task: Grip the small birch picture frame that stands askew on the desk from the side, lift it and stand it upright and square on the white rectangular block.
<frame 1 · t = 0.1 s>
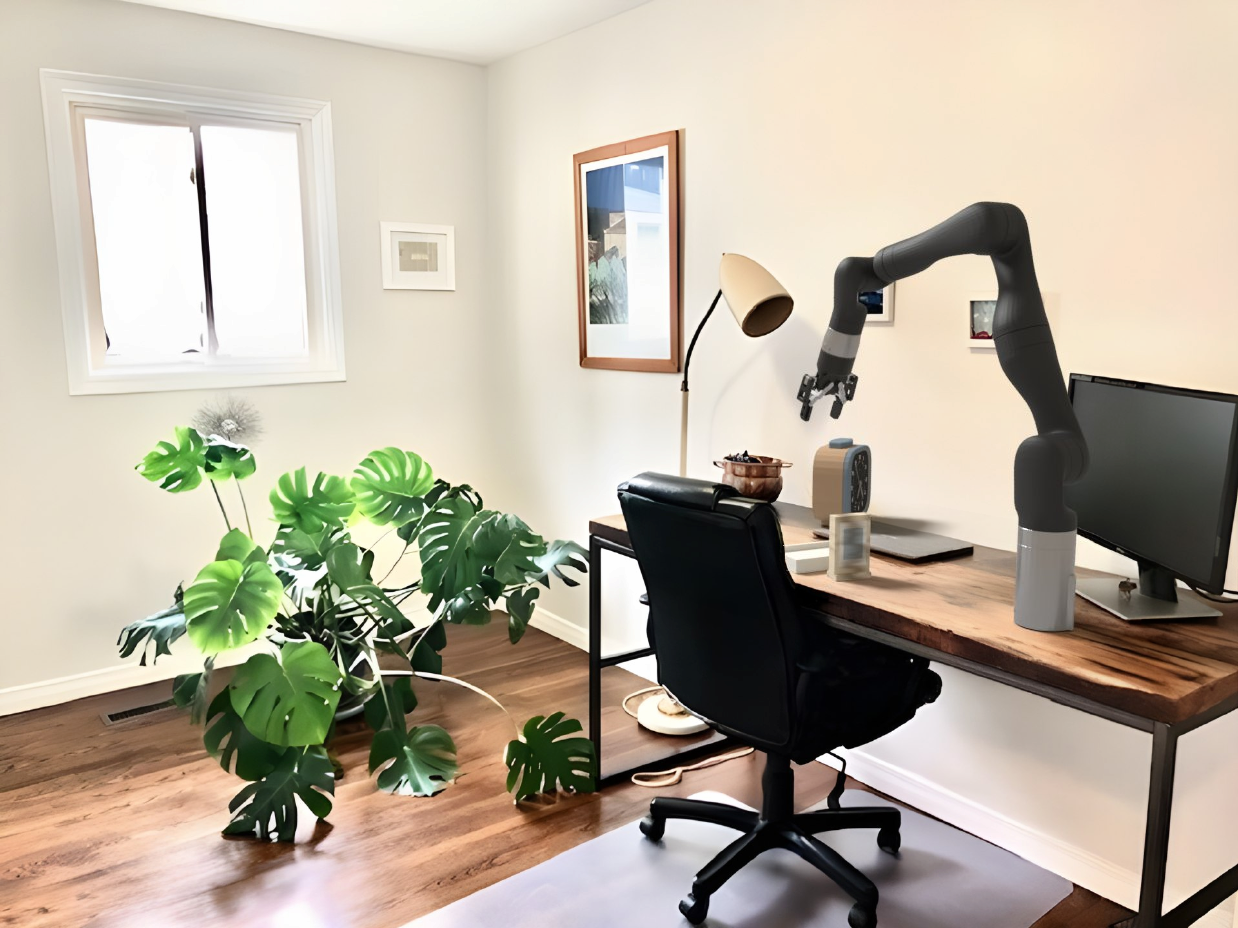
hand: (819, 418, 210), 31 cm above the table, tool tilted 20°, fingers open, 8 cm apart
white rectangular block: (814, 565, 208), on the table
frame: (848, 577, 198), on the table
alarm clock: (842, 522, 251), on the table
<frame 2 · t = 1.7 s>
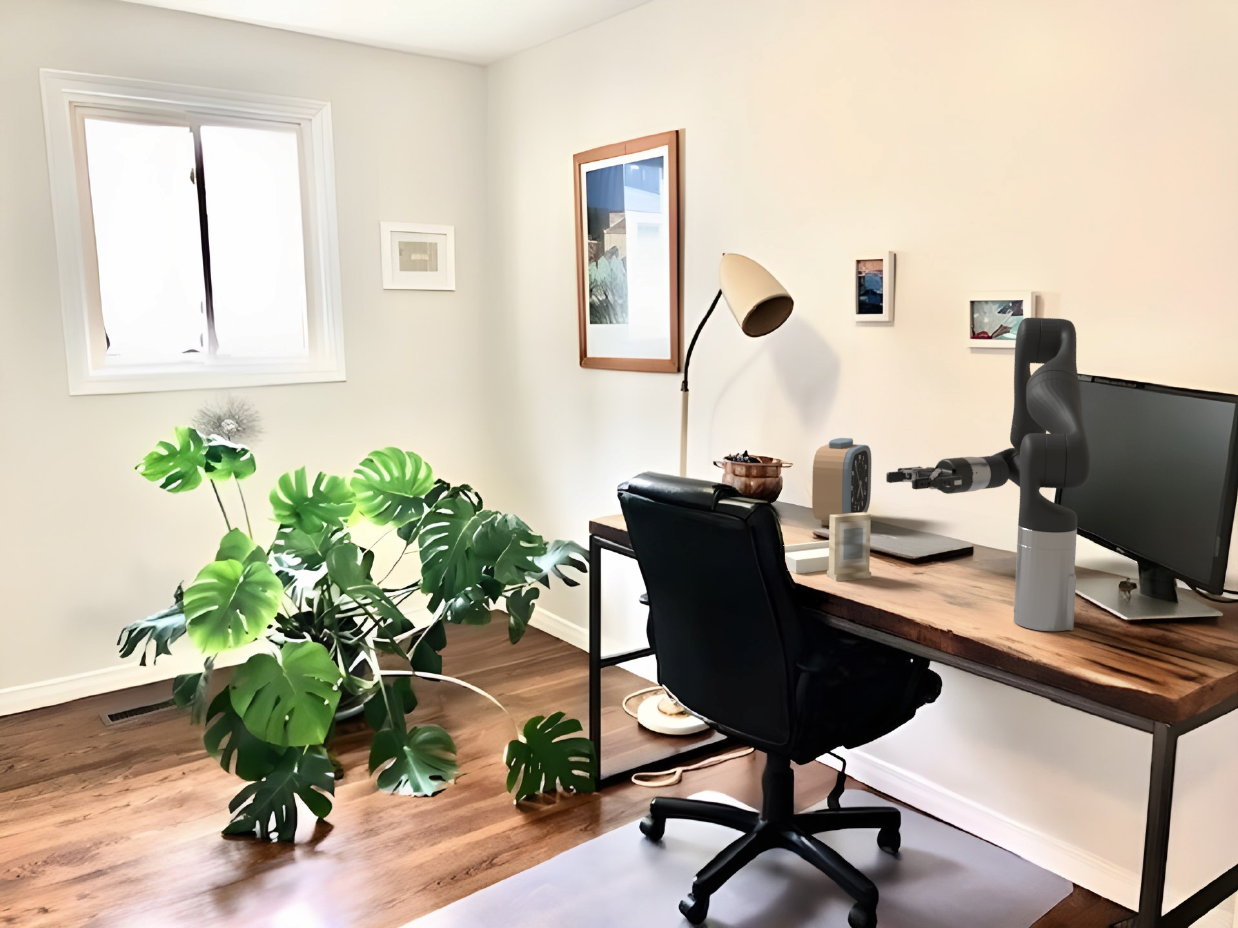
hand: (900, 480, 200), 19 cm above the table, tool horizontal, fingers open, 8 cm apart
nothing on the table moved.
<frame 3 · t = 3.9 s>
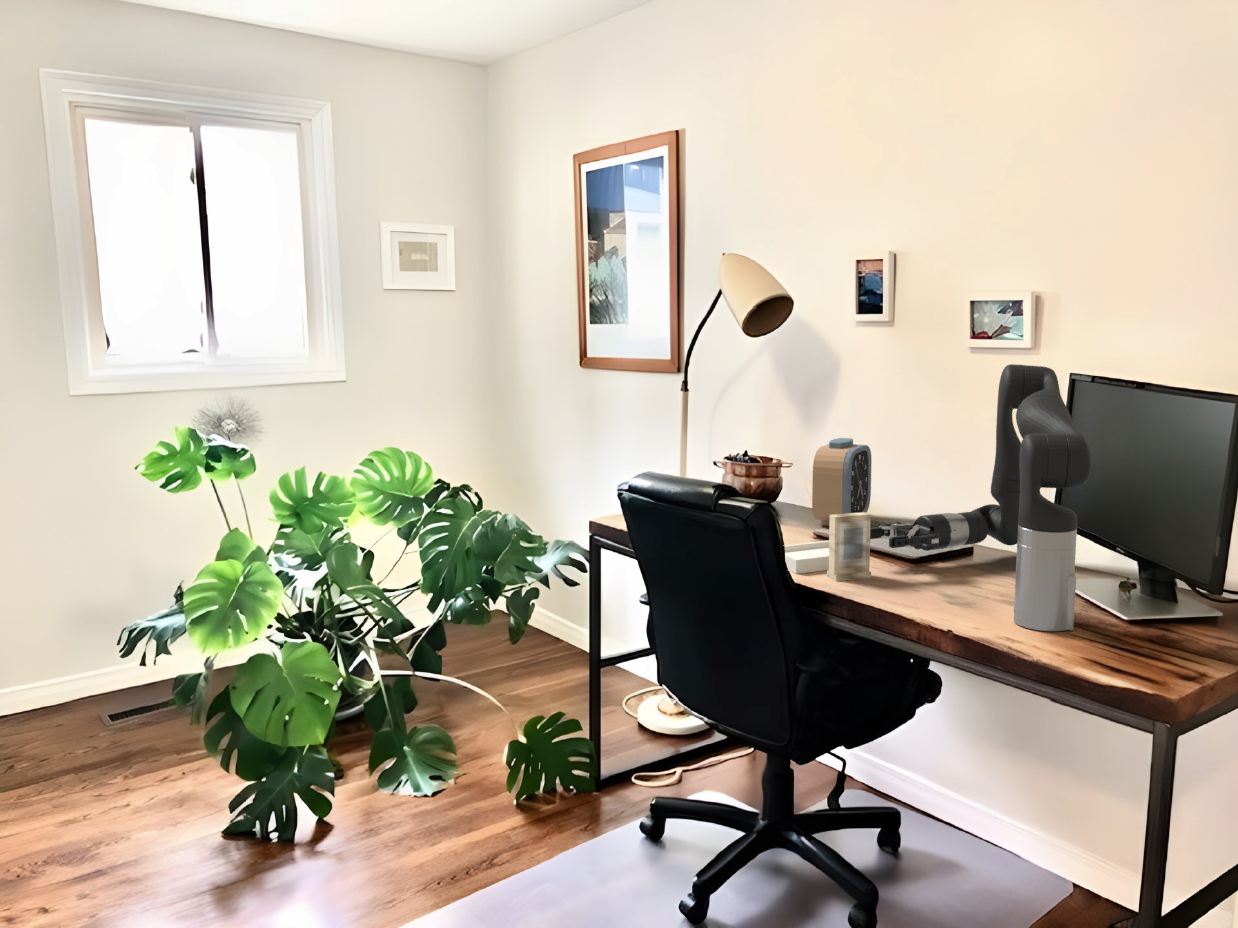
hand: (877, 538, 200), 7 cm above the table, tool horizontal, fingers open, 8 cm apart
nothing on the table moved.
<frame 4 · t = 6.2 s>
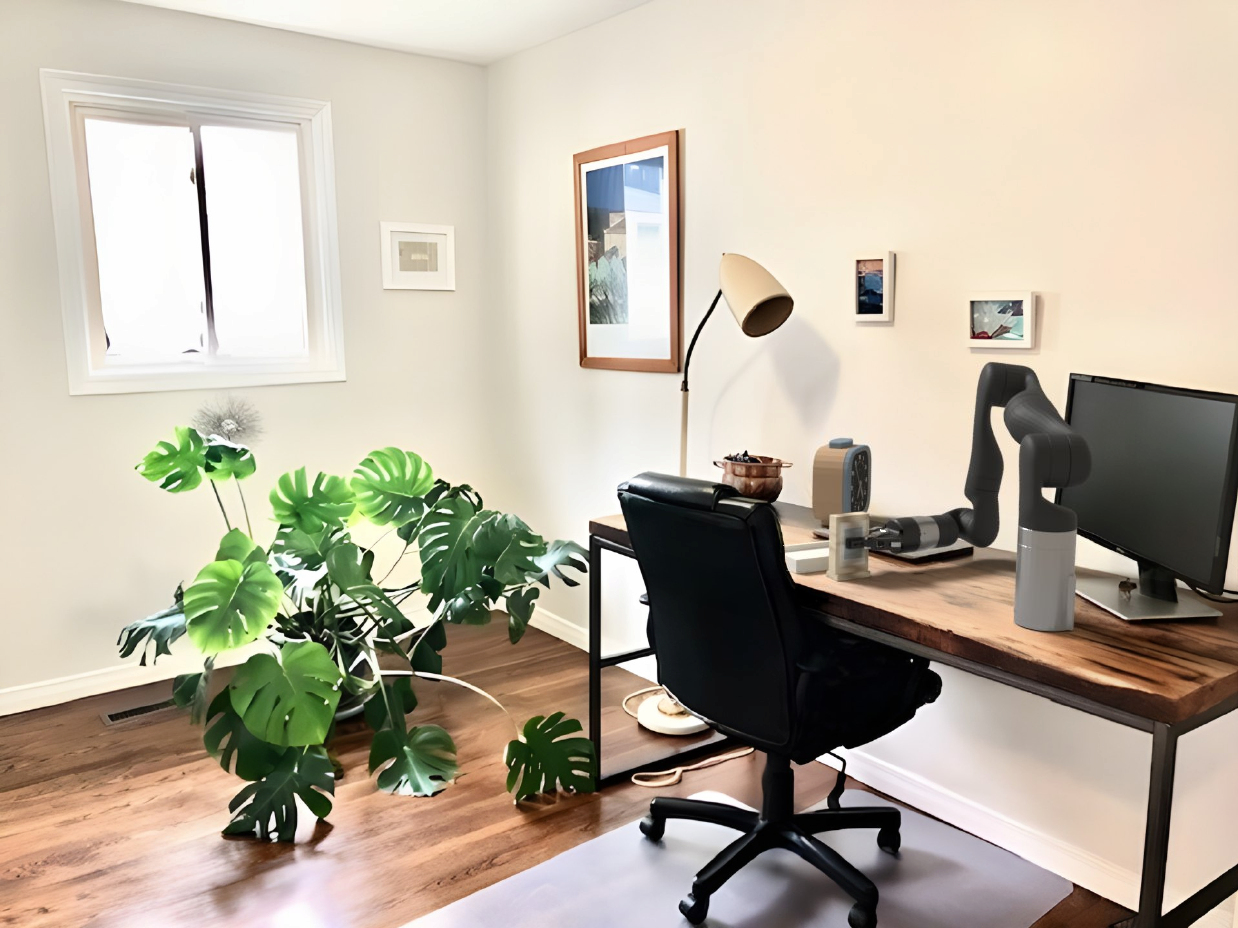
hand: (842, 542, 197), 8 cm above the table, tool horizontal, fingers closed on frame, 3 cm apart
frame: (848, 576, 199), on the table, touching gripper
everything else where it was.
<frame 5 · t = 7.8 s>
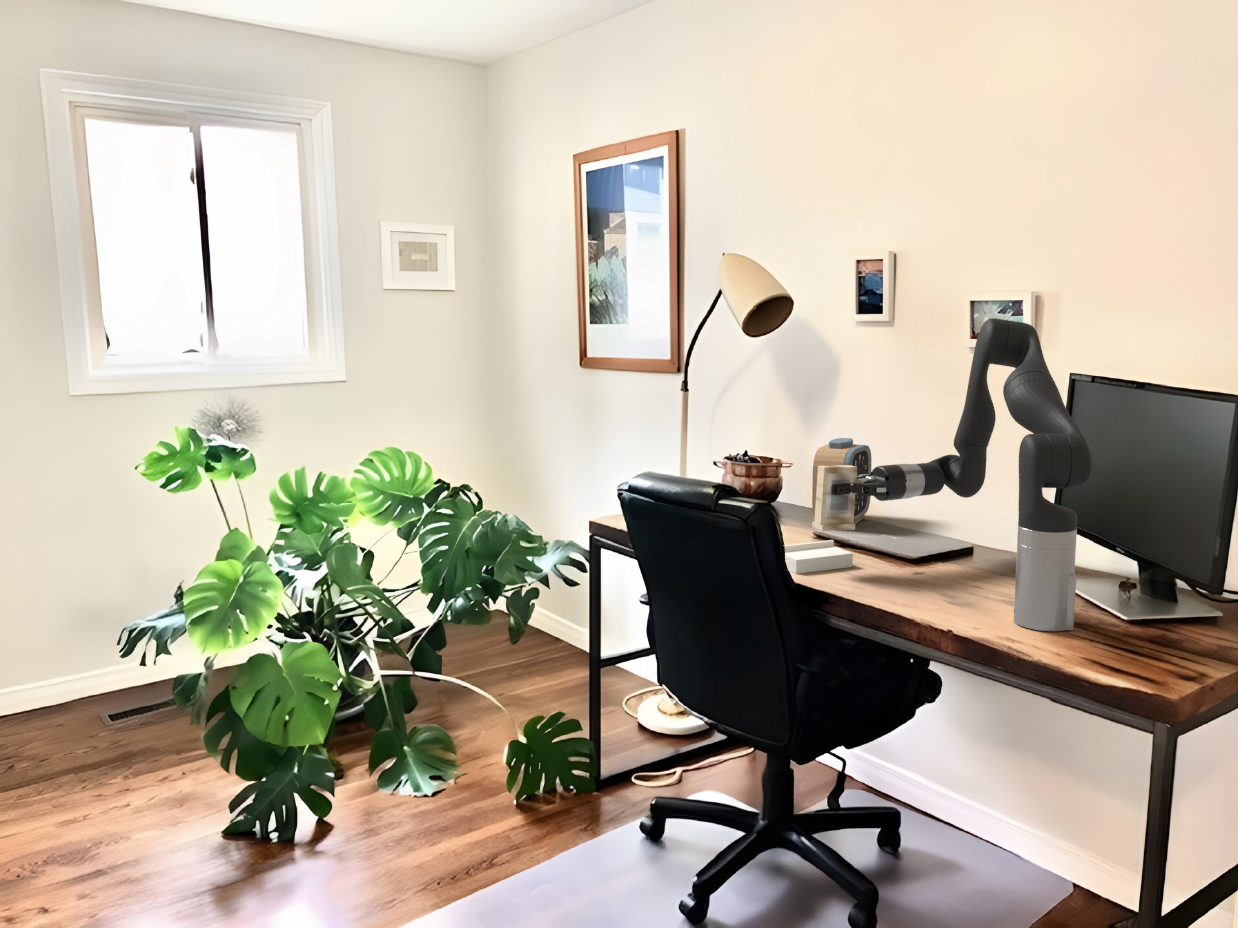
hand: (828, 488, 200), 18 cm above the table, tool horizontal, fingers closed on frame, 3 cm apart
frame: (833, 528, 202), point 9 cm above the table, touching gripper
everything else where it was.
when the fingers open (13 cm above the table, at t = 9.6 s): frame stays where it is, resting on white rectangular block.
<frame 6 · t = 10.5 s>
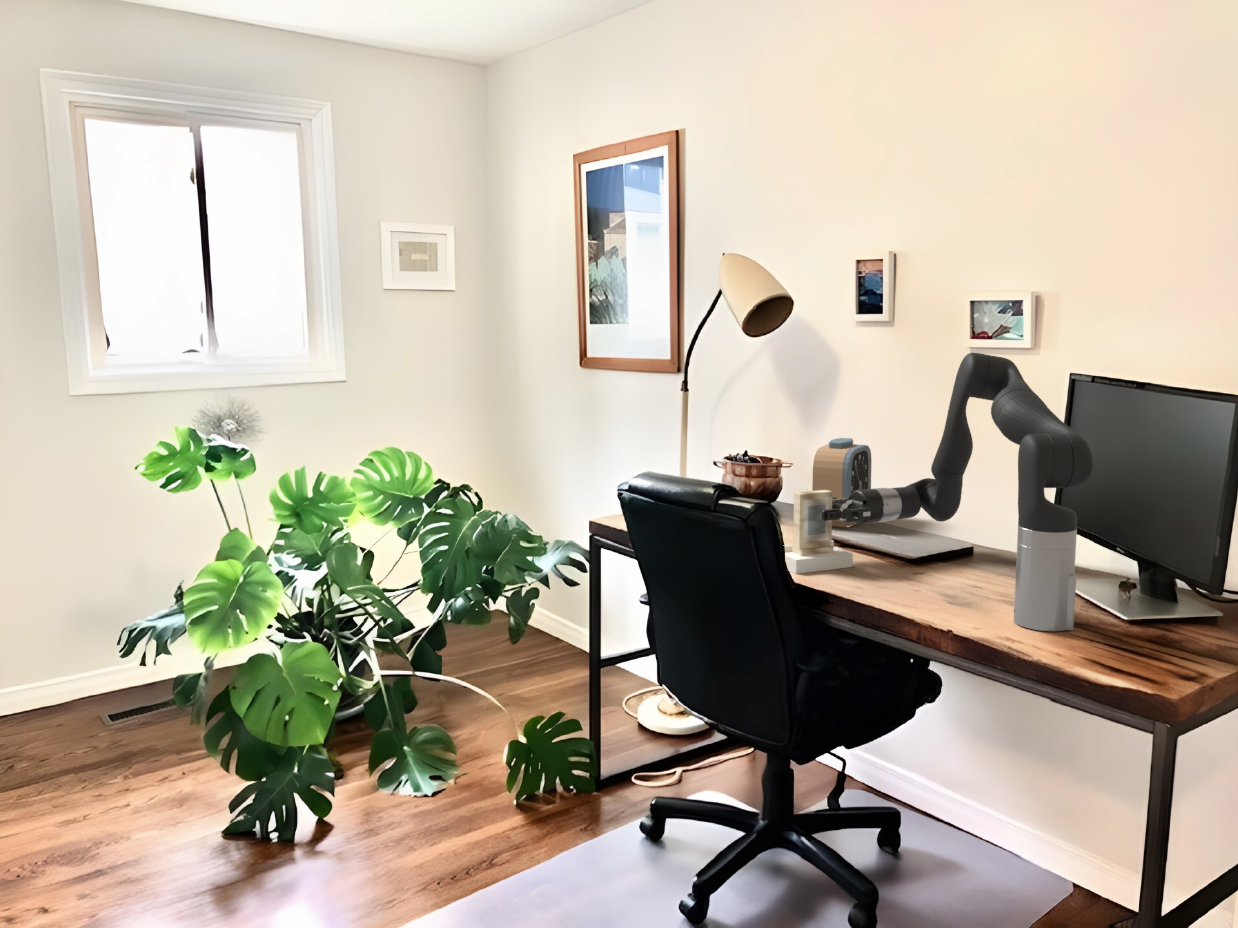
hand: (811, 511, 205), 12 cm above the table, tool horizontal, fingers open, 8 cm apart
frame: (812, 552, 207), point 3 cm above the table, touching white rectangular block
everything else where it was.
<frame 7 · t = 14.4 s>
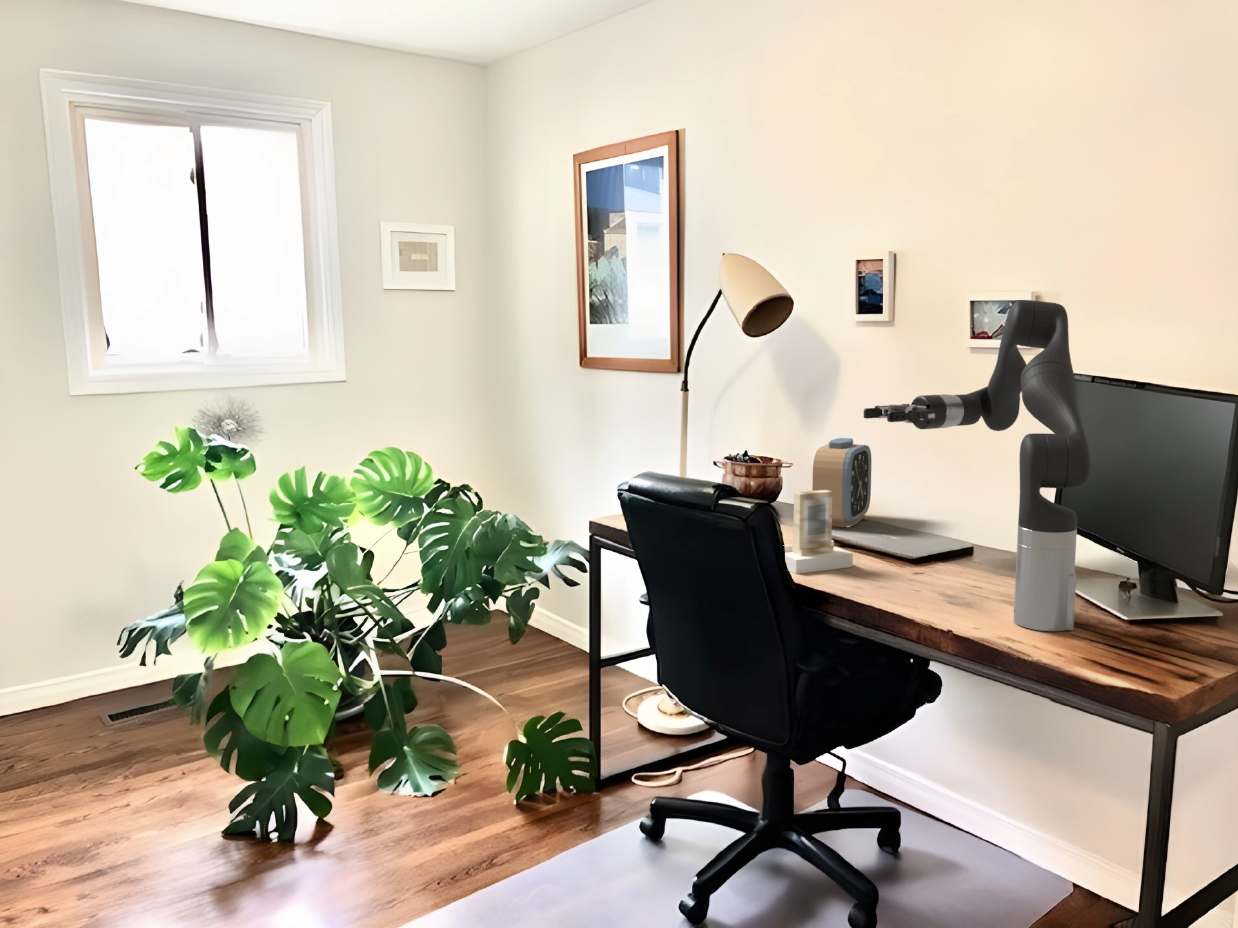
hand: (876, 415, 208), 32 cm above the table, tool horizontal, fingers open, 8 cm apart
nothing on the table moved.
at the end: frame inside the target area on the white rectangular block (0.5 cm from its centre), point 3.0 cm above the white rectangular block's base; frame tilted 0°; the gripper is holding nothing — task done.
